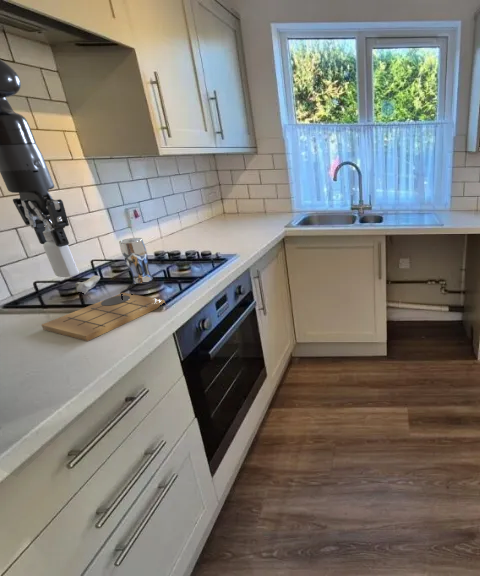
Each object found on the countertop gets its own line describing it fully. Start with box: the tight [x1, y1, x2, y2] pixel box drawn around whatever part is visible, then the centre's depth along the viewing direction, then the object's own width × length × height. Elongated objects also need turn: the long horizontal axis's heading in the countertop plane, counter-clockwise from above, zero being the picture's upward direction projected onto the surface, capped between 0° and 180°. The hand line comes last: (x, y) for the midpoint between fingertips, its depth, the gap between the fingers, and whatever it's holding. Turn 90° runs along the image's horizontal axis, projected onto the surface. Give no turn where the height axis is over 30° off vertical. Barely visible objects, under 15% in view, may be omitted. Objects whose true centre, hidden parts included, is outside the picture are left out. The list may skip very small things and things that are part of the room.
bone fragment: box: [74, 275, 101, 295], centre depth 120 cm, size 5×11×4 cm, turn 18°
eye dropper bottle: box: [42, 224, 80, 278], centre depth 83 cm, size 4×6×12 cm
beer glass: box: [118, 237, 154, 285], centre depth 123 cm, size 7×7×15 cm
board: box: [41, 292, 166, 342], centre depth 101 cm, size 22×18×2 cm
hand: (55, 244), depth 83 cm, fingers closed on eye dropper bottle, 5 cm apart
